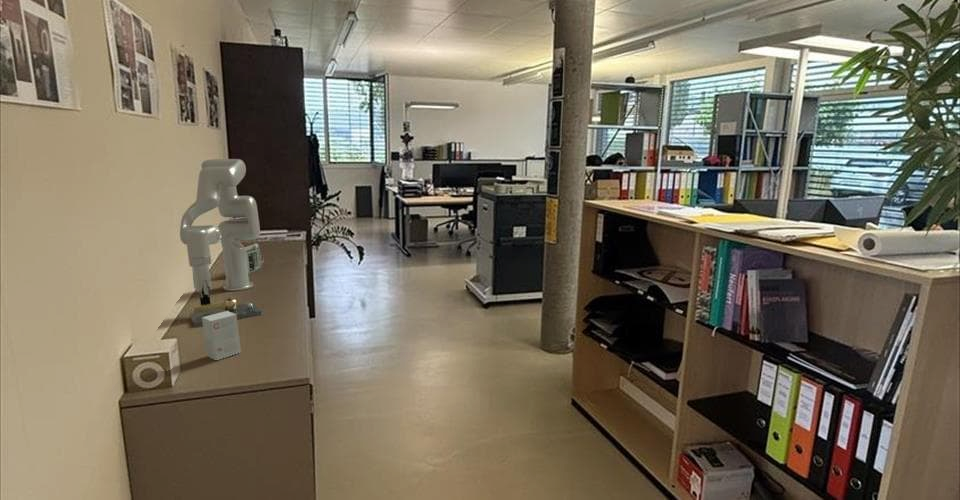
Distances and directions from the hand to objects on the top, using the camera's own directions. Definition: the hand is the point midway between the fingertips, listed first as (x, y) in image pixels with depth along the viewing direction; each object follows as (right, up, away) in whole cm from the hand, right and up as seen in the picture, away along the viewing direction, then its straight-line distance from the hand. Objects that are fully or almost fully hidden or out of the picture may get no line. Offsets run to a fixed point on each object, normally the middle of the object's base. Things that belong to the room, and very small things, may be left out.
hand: (205, 306), depth 206 cm
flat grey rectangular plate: (+8, -3, -1) cm, 9 cm away
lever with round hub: (+5, -2, -2) cm, 5 cm away
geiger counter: (-14, +11, +71) cm, 73 cm away
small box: (+26, -11, -39) cm, 49 cm away
